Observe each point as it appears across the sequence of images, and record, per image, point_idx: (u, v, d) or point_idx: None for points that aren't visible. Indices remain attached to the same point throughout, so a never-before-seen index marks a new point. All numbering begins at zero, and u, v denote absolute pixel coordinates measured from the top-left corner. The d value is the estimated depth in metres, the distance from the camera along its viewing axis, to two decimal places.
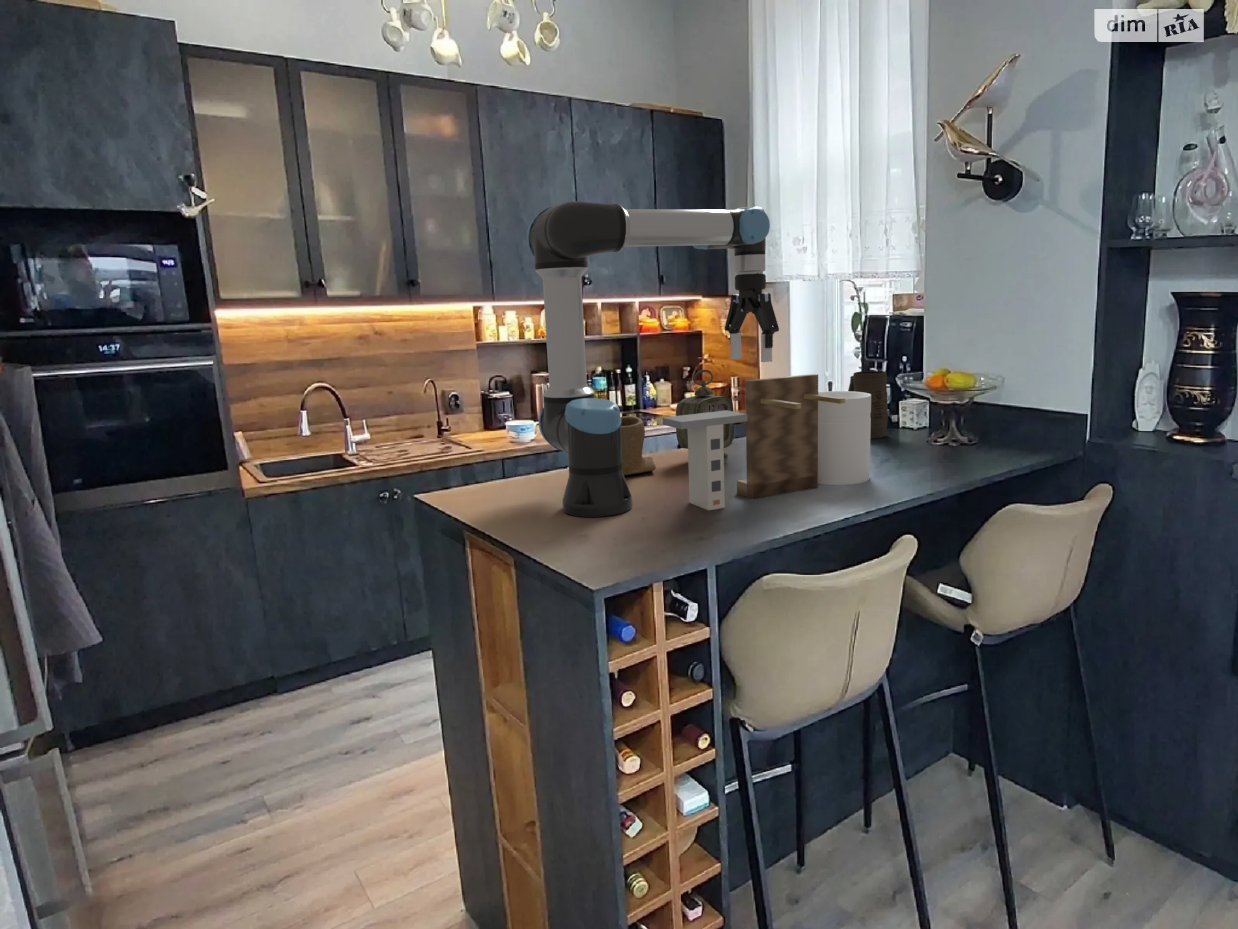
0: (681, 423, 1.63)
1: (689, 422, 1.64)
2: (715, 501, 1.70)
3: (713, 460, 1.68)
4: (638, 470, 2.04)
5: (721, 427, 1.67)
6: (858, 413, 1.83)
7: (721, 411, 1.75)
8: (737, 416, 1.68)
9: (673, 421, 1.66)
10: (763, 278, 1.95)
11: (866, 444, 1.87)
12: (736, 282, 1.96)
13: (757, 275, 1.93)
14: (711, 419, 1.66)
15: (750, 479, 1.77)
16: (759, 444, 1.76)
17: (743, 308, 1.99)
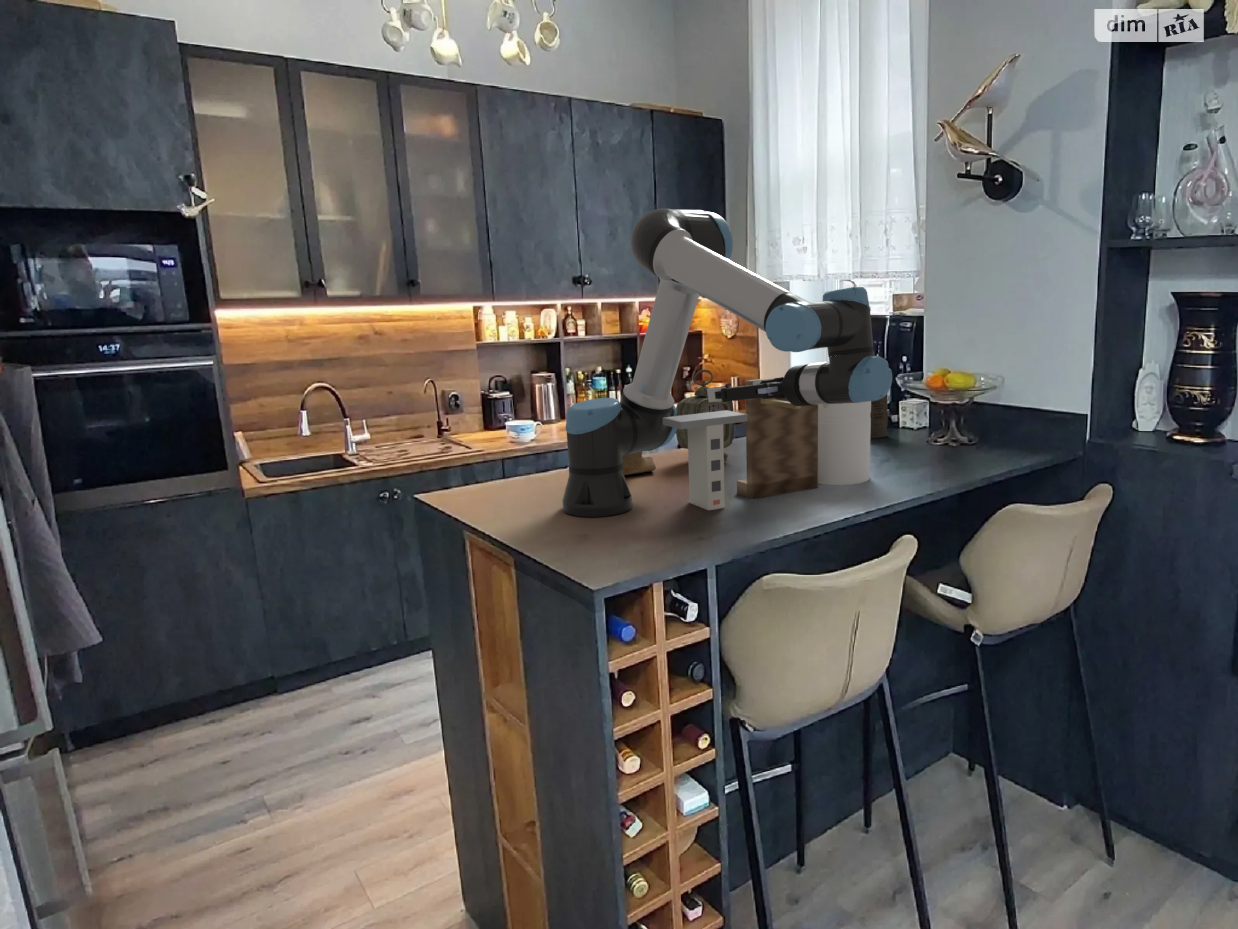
0: (681, 423, 1.63)
1: (689, 422, 1.64)
2: (715, 501, 1.70)
3: (713, 460, 1.68)
4: (638, 470, 2.04)
5: (721, 427, 1.67)
6: (858, 413, 1.83)
7: (721, 411, 1.75)
8: (737, 416, 1.68)
9: (673, 421, 1.66)
10: (793, 395, 1.46)
11: (866, 444, 1.87)
12: None
13: (794, 385, 1.45)
14: (711, 419, 1.66)
15: (750, 479, 1.77)
16: (759, 444, 1.76)
17: None
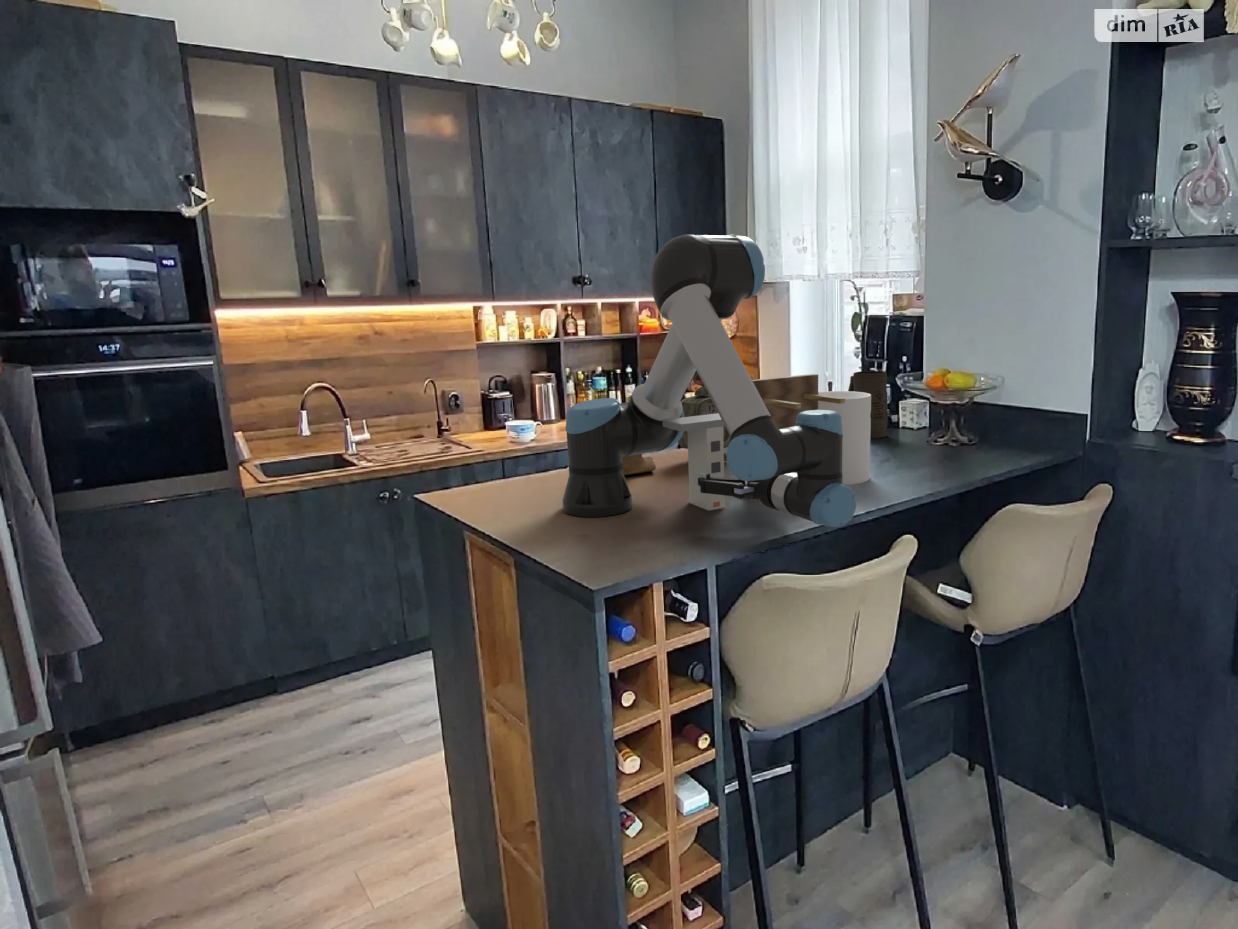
0: (681, 425, 1.63)
1: (689, 424, 1.64)
2: (716, 504, 1.70)
3: (713, 462, 1.68)
4: (638, 470, 2.04)
5: (721, 429, 1.67)
6: (858, 413, 1.83)
7: None
8: None
9: (673, 423, 1.66)
10: (766, 500, 1.47)
11: (866, 444, 1.87)
12: None
13: (767, 491, 1.46)
14: (711, 421, 1.66)
15: None
16: None
17: None
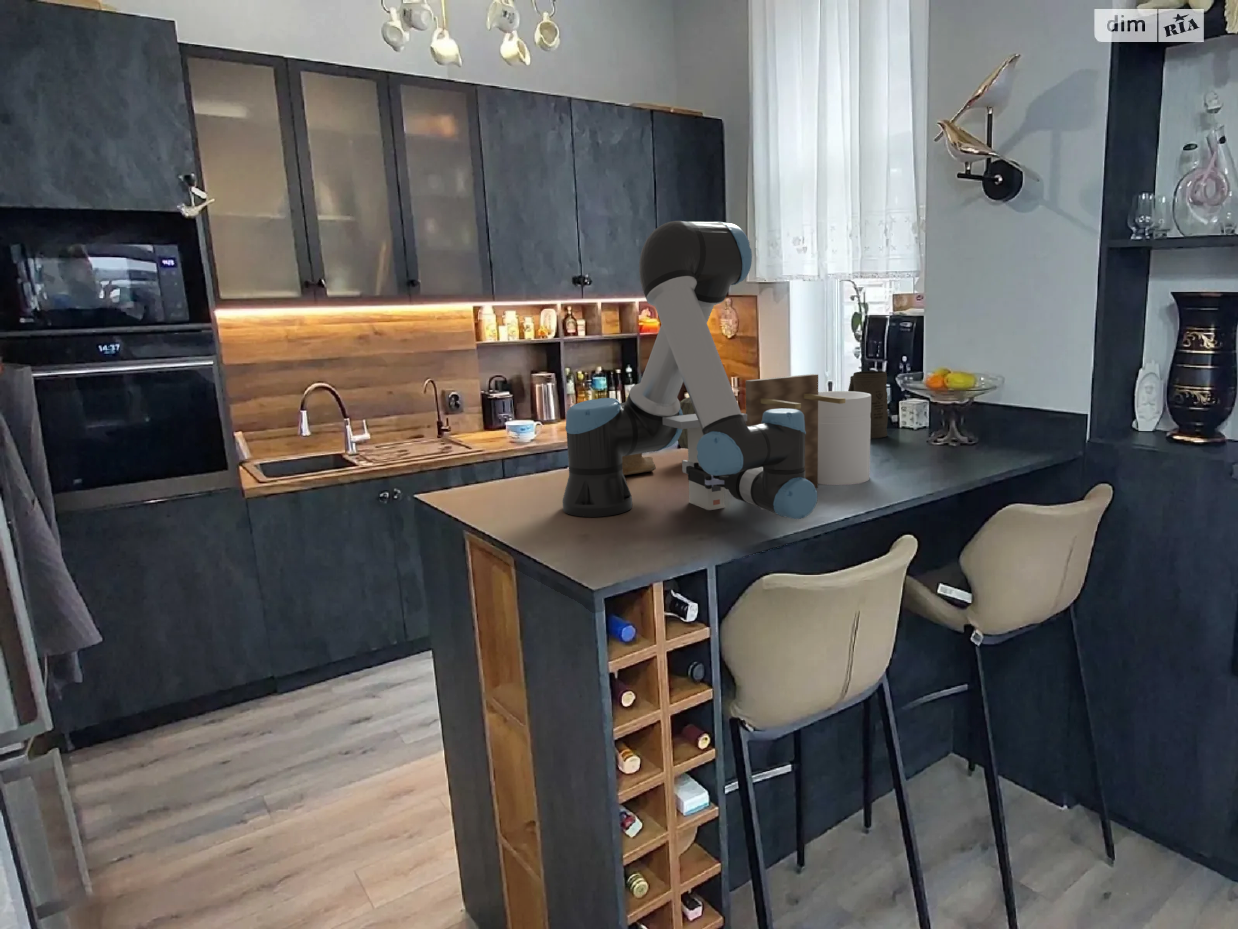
0: (681, 423, 1.63)
1: (689, 422, 1.64)
2: (715, 501, 1.70)
3: None
4: (638, 470, 2.04)
5: None
6: (858, 413, 1.83)
7: None
8: None
9: (673, 421, 1.66)
10: (735, 493, 1.56)
11: (866, 444, 1.87)
12: None
13: (736, 484, 1.55)
14: None
15: None
16: None
17: None
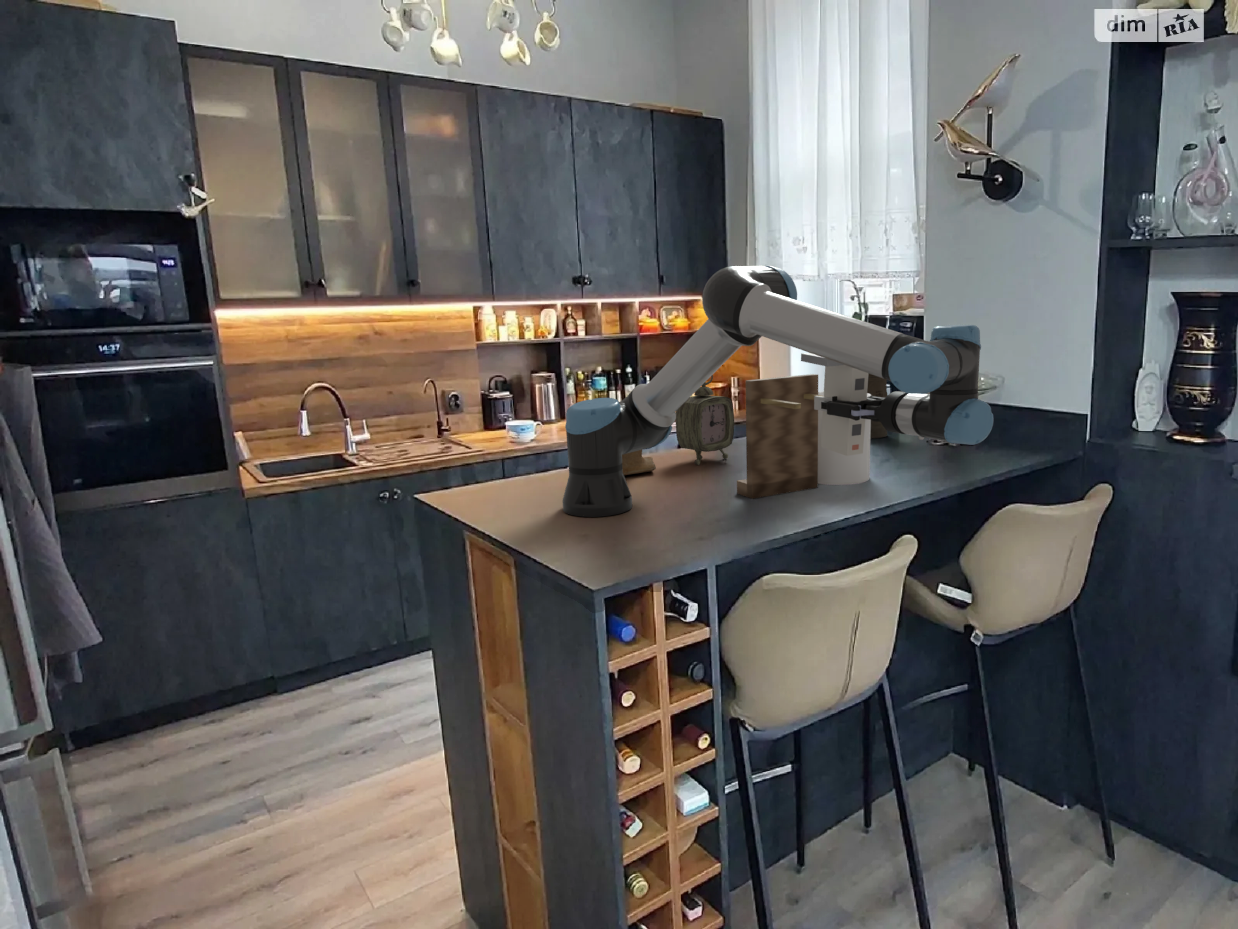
0: (827, 360, 1.49)
1: None
2: (854, 446, 1.57)
3: (856, 401, 1.55)
4: (638, 470, 2.04)
5: None
6: None
7: None
8: None
9: (816, 357, 1.52)
10: (889, 423, 1.43)
11: (866, 444, 1.87)
12: None
13: (891, 413, 1.42)
14: None
15: (750, 479, 1.77)
16: (759, 444, 1.76)
17: (882, 402, 1.51)
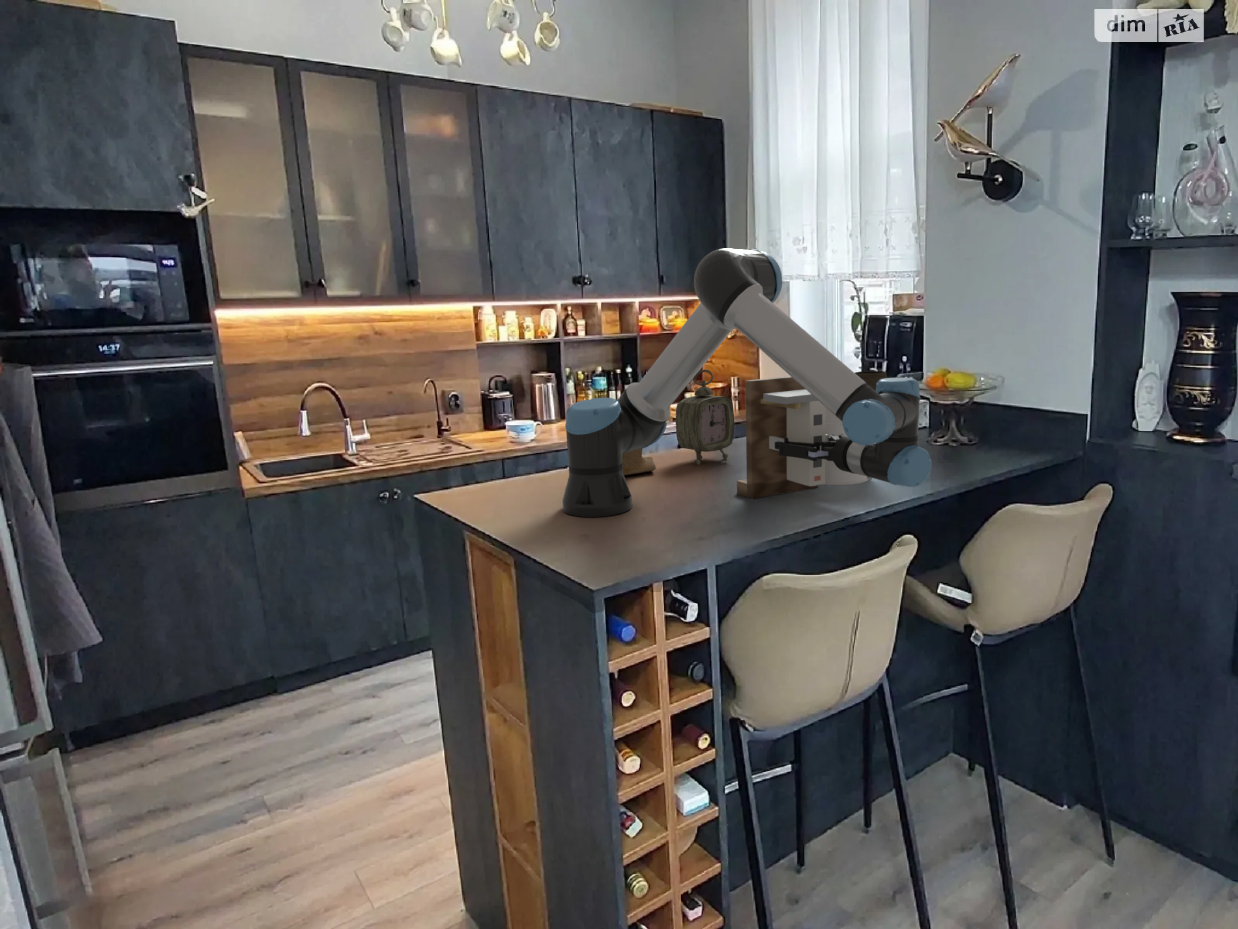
0: (786, 398, 1.63)
1: (794, 397, 1.64)
2: (817, 477, 1.70)
3: (815, 436, 1.68)
4: (638, 470, 2.04)
5: None
6: None
7: None
8: None
9: (776, 396, 1.66)
10: (841, 463, 1.57)
11: None
12: None
13: (842, 455, 1.56)
14: None
15: (750, 479, 1.77)
16: (759, 444, 1.76)
17: None
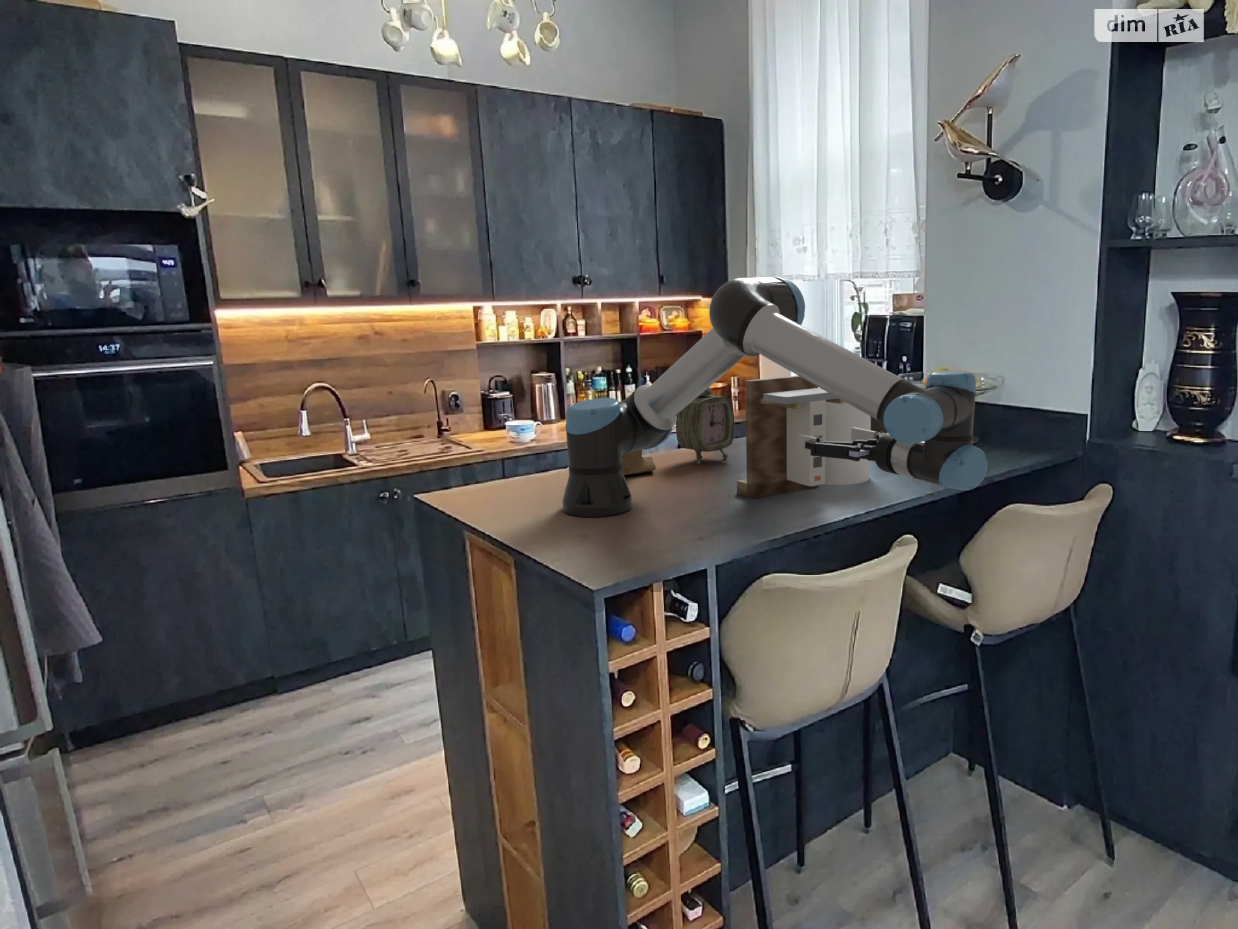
0: (786, 398, 1.63)
1: (794, 397, 1.64)
2: (817, 477, 1.70)
3: (815, 436, 1.68)
4: (638, 470, 2.04)
5: (824, 403, 1.67)
6: (858, 413, 1.83)
7: (819, 388, 1.75)
8: None
9: (776, 396, 1.66)
10: (883, 464, 1.44)
11: None
12: None
13: (886, 454, 1.43)
14: (814, 394, 1.66)
15: (750, 479, 1.77)
16: (759, 444, 1.76)
17: (877, 441, 1.52)
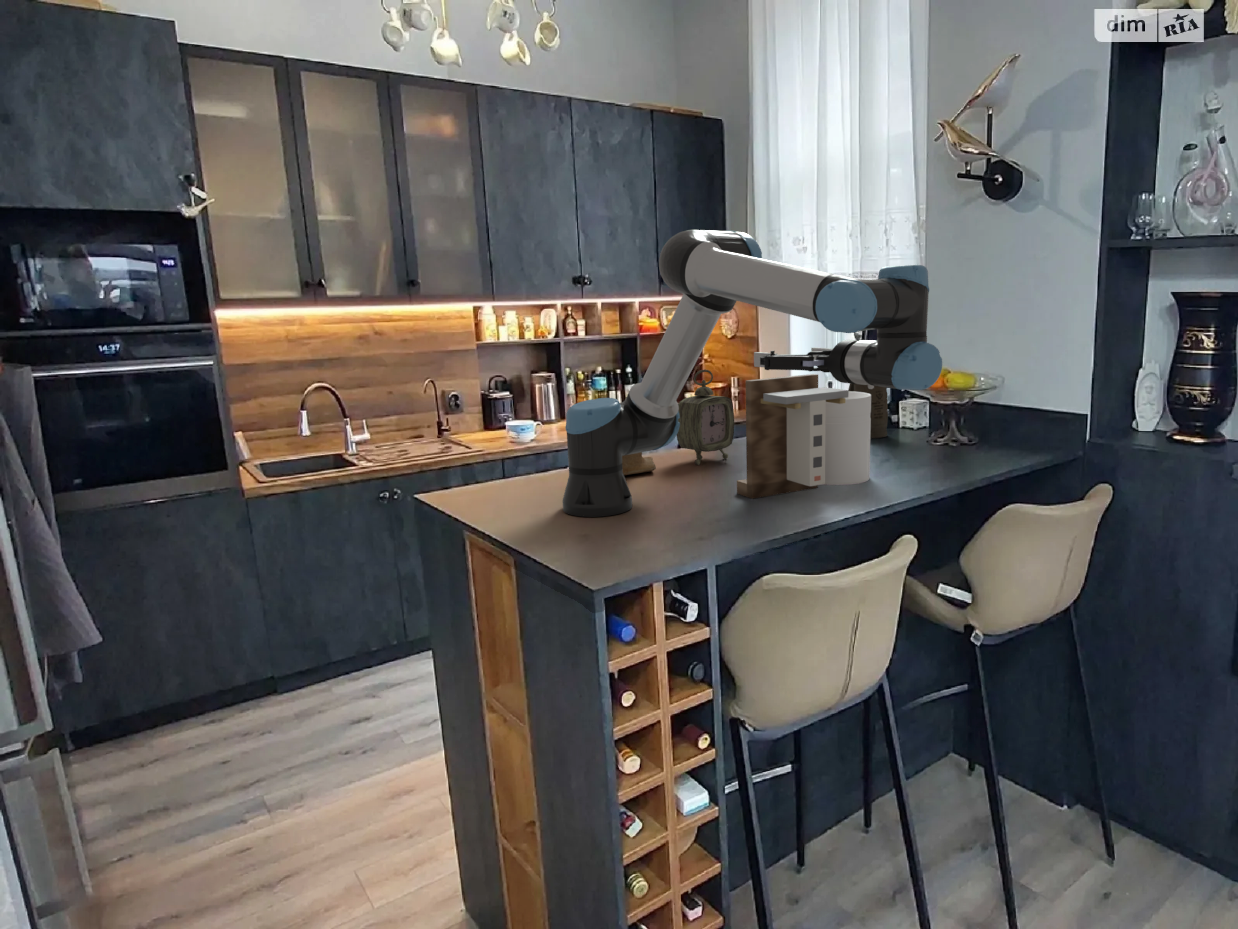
0: (786, 398, 1.63)
1: (794, 397, 1.64)
2: (817, 477, 1.70)
3: (815, 436, 1.68)
4: (638, 470, 2.04)
5: (824, 403, 1.67)
6: (858, 413, 1.83)
7: (819, 388, 1.75)
8: (839, 392, 1.68)
9: (776, 396, 1.66)
10: (838, 372, 1.38)
11: (866, 444, 1.87)
12: None
13: (840, 361, 1.37)
14: (814, 394, 1.66)
15: (750, 479, 1.77)
16: (759, 444, 1.76)
17: None
